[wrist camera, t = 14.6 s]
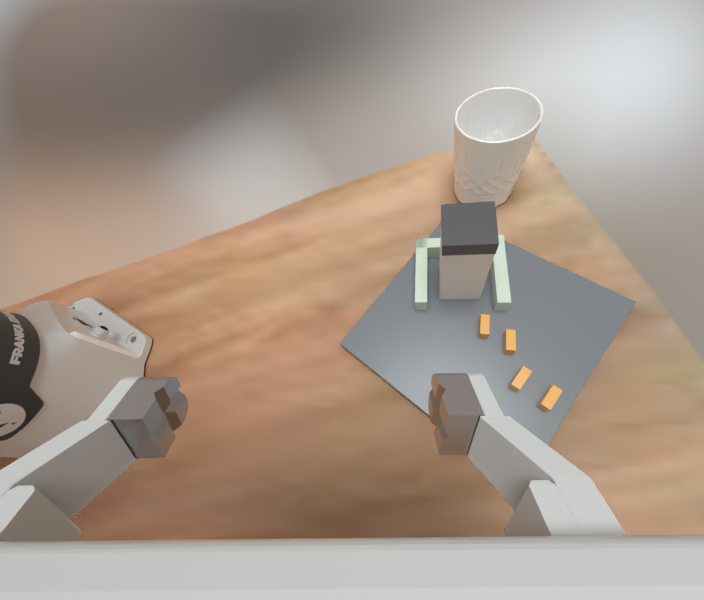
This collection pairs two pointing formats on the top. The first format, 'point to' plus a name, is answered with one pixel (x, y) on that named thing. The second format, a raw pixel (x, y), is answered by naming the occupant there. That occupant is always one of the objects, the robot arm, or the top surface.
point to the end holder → (497, 271)
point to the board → (494, 337)
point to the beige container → (466, 248)
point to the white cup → (493, 142)
